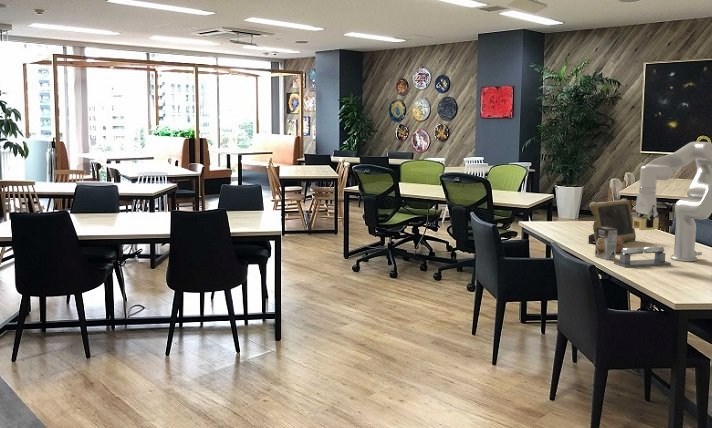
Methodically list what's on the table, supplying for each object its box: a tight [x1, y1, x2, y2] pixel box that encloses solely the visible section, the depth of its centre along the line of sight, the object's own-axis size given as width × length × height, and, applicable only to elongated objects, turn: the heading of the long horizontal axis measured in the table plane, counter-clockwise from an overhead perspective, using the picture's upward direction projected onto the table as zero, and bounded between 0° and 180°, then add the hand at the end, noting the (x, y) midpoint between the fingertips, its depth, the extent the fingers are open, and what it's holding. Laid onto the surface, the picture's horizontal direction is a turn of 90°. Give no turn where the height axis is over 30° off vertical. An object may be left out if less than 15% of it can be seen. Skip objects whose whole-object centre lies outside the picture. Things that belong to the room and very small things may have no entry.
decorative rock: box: [616, 235, 625, 253], centre depth 362 cm, size 13×11×10 cm
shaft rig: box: [613, 246, 672, 268], centre depth 330 cm, size 26×9×8 cm, turn 103°
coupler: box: [632, 215, 660, 231], centre depth 328 cm, size 10×6×6 cm, turn 104°
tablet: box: [588, 198, 637, 245], centre depth 389 cm, size 33×14×25 cm, turn 127°
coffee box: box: [594, 226, 618, 261], centre depth 345 cm, size 9×6×16 cm
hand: (645, 226), depth 328 cm, fingers closed on coupler, 6 cm apart
